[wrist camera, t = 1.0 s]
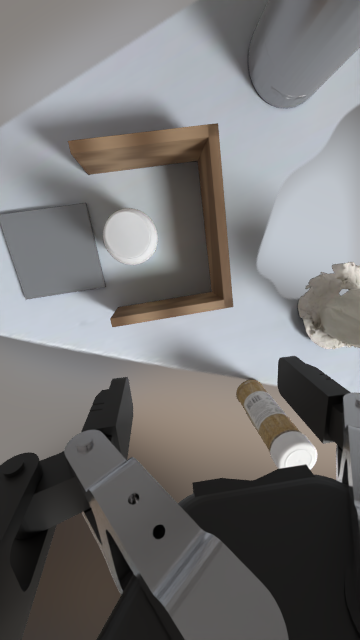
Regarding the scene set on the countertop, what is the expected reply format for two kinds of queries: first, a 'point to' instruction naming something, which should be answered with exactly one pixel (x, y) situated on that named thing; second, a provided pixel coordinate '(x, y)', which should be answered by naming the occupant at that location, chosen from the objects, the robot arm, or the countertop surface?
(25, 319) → the countertop surface
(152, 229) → the supplement bottle
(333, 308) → the yellow capped ghost figurine
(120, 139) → the open box
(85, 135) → the countertop surface
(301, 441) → the sprinkles bottle
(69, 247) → the grey mat
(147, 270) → the countertop surface
